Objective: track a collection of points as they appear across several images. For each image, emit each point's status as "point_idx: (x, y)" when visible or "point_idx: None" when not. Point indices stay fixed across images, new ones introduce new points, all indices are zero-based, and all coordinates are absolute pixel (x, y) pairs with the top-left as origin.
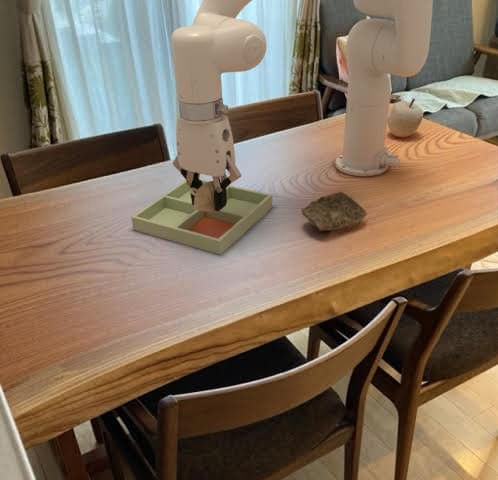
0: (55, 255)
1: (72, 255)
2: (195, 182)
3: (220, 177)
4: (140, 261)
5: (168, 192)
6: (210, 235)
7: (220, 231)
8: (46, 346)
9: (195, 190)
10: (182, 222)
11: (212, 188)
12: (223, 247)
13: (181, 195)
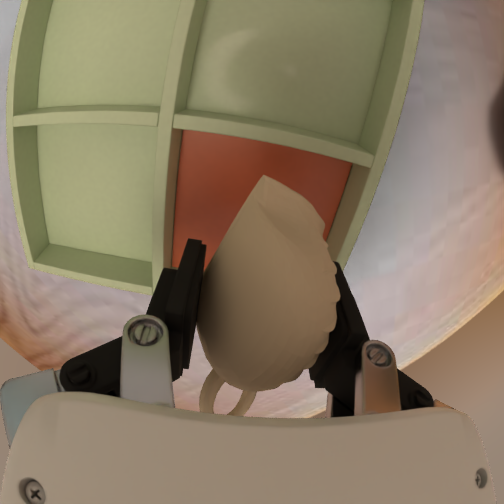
0: (33, 336)
1: (48, 335)
2: (179, 368)
3: (357, 399)
4: None
5: (9, 94)
6: None
7: None
8: None
9: (216, 389)
10: (160, 261)
11: (299, 373)
12: None
13: (44, 31)
